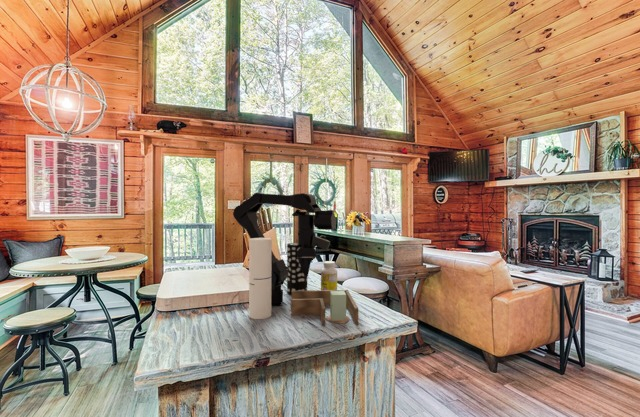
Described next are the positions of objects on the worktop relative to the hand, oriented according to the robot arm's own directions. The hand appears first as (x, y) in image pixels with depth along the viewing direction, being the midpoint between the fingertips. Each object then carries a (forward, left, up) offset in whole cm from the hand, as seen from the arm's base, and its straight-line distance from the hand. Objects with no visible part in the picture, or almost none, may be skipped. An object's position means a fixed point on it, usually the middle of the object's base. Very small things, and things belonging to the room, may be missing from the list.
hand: (305, 273), depth 111 cm
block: (+10, -12, -12) cm, 19 cm away
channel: (+5, -6, -12) cm, 14 cm away
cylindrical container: (-15, -7, -12) cm, 21 cm away
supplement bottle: (+10, +17, -12) cm, 23 cm away
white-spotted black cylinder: (-3, +19, -12) cm, 23 cm away
